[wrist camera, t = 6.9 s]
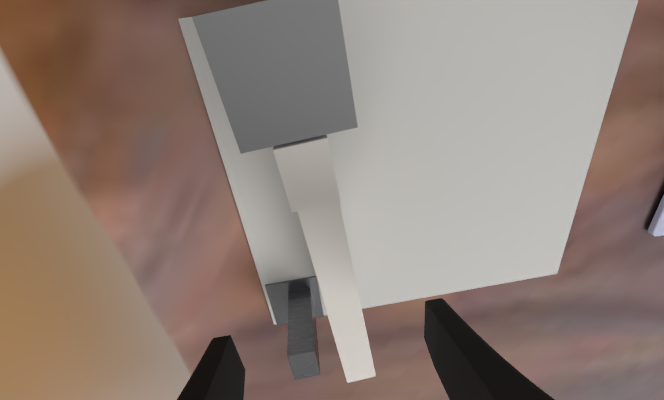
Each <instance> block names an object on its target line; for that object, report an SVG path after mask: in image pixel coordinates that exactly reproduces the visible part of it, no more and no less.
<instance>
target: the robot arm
mask: <svg viewBox="0 0 664 400" xmlns="http://www.w3.org/2000/svg"><path fill="white" fill-rule="evenodd" d="M648 232H649V233H650V234H652V235H653V236H662V235H664V195H663V197H662V199H661V201H660V204H659V206H658V208H657V210H656V213H655V215H654V217H653V219H652V222H651V224H650V226H649V228H648ZM424 338H425V341H426V344H427V347H428V350H429V353H430V356H431V359H432V361H433V364H434V367H435V369H436V371H437V373H438V375H439V378H440V380H441V382H442V384H443V386H444V388H445V390H446V393H447V395H448V397H449V399H450V400H554V399H553V398H552V397H550V396H549V395H548V394H546V393H545V392H544V391H543V390H541V389H540V388H539V387H537V386H536V385H535V384H534V383H532V382H531V381H530V380H529V379H527V378H526V377H525V376H524V375H522V374H521V373H520V372H519V371H518V370H517V369H515V368H514V367H513V366H512V365H511V364H510V363H508V362H507V361H506V360H505V359H504V358H503V357H501V356H500V355H499V354H498V353H497V352H496V351H495V350H494V349H493V348H492V347H491V346H489V345H488V344H487V343H486V342H485V341H484V340H483V339H482V338H481V337H480V336H479V335H478V334H477V333H476V332H475V331H474V330H473V329H472V328H471V327H470V326H469V325H468V324H467V323H466V322H465V321H464V320H463V319H462V318H461V317H460V316H459V315H458V314H457V313H456V312H455V311H454V310H453V309H452V308H451V307H450V306H449V305H448V304H447V303H446V302H445V300H443V299H442V298H440V299H434V300H429V301H425V330H424ZM244 381H245V368H244V366H243V364H242V361H241V359H240V357H239V354H238V352H237V350H236V347H235V345H234V343H233V340H232V338H231V335H229V336H223V337H217V338H213V340H212V341H211V342H210V344H209V346H208V348H207V350H206V351H205V353H204V355H203V357H202V358H201V360H200V362H199V364H198V365H197V367H196V369H195V371H194V372H193V374H192V376H191V377H190V379H189V381H188V382H187V384H186V386H185V387H184V389H183V391H182V392H181V394H180V396H179V397H178V399H177V400H243V397H244Z"/></svg>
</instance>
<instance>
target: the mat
mask: <svg viewBox="0 0 664 400" xmlns="http://www.w3.org/2000/svg"><path fill="white" fill-rule="evenodd" d="M338 2H339V9H340V15H341V22H342V28H343V35H344V41H345V48H346V54H347V60H348V67H349V73H350V80H351V86H352V93H353V99H354V106H355V112H356V118H357V125H358V128H353V129H349V130H344V131H340V132H335V133H331V134H326V135H327V138H328V142H329V147H330V152H331V157H332V162H333V167H334V171H335V176H336V181H337V186H338V191H339V196H340V200H341V202H339V203H340V208H341V213H342V218H343V222H344V227H345V232H346V237H347V241H348V246H349V251H350V256H351V260H352V265H353V270H354V275H355V279H356V284H357V289H358V294H359V298H360V303H361V308H362V309H363V308H369V307H374V306H380V305H386V304H391V303H397V302H402V301H408V300H413V299H419V298H424V297H430V296H436V295H441V294H447V293H452V292H458V291H463V290H469V289H475V288H480V287H486V286H491V285H497V284H502V283H508V282H513V281H519V280H525V279H530V278H536V277H541V276H547V275H552V274H557V272H558V269H559V265H560V262H561V259H562V255H563V252H564V248H565V245H566V242H567V238H568V235H569V232H570V228H571V225H572V222H573V218H574V215H575V211H576V208H577V205H578V201H579V198H580V195H581V191H582V188H583V185H584V181H585V178H586V174H587V171H588V168H589V164H590V161H591V158H592V154H593V151H594V147H595V144H596V141H597V137H598V134H599V131H600V127H601V124H602V121H603V117H604V114H605V110H606V107H607V104H608V100H609V97H610V94H611V90H612V87H613V84H614V80H615V77H616V73H617V70H618V67H619V63H620V60H621V57H622V53H623V50H624V46H625V43H626V40H627V36H628V33H629V30H630V26H631V23H632V20H633V16H634V13H635V9H636V6H637V3H638V0H338ZM178 20H179V24H180V27H181V30H182V33H183V36H184V39H185V43H186V46H187V49H188V52H189V55H190V59H191V62H192V65H193V68H194V71H195V74H196V78H197V81H198V84H199V87H200V90H201V93H202V97H203V100H204V103H205V106H206V109H207V113H208V116H209V119H210V122H211V125H212V128H213V132H214V135H215V138H216V141H217V144H218V148H219V151H220V154H221V157H222V160H223V163H224V167H225V170H226V173H227V176H228V179H229V182H230V186H231V189H232V192H233V195H234V198H235V202H236V205H237V208H238V211H239V214H240V217H241V221H242V224H243V227H244V230H245V233H246V237H247V240H248V243H249V246H250V249H251V252H252V256H253V259H254V262H255V265H256V268H257V271H258V275H259V278H260V281H261V284H262V287H263V291H264V294H265V297H266V300H267V303H268V306H269V310H270V313H271V316H272V319H273V322H274V324H277V323H276V320H275V317H274V314H273V310H272V307H271V304H270V301H269V297H268V294H267V291H266V288H265V285H266V284H272V283H278V282H284V281H289V280H295V279H301V278H307V277H312V276H316V273H315V270H314V266H313V263H312V259H311V256H310V252H309V249H308V246H307V242H306V239H305V235H304V232H303V228H302V225H301V222H300V218H299V215H298V211H297V212H293V213H292V212H291V208H290V205H289V202H288V198H287V195H286V192H285V188H284V185H283V182H282V178H281V175H280V172H279V168H278V165H277V162H276V159H275V155H274V152H273V147H274V146H273V147H269V148H264V149H260V150H255V151H251V152H246V153H242V154H241V153H240V150H239V147H238V145H237V142H236V139H235V136H234V133H233V131H232V128H231V125H230V122H229V119H228V117H227V114H226V111H225V108H224V106H223V103H222V100H221V97H220V94H219V92H218V89H217V86H216V83H215V80H214V78H213V75H212V72H211V69H210V66H209V64H208V61H207V58H206V55H205V52H204V50H203V47H202V44H201V41H200V38H199V36H198V33H197V30H196V27H195V24H194V22H193V19H192V17H186V18H179V19H178ZM316 279H317V277H316ZM317 284H318V289H319V294H320V299H321V304H322V309H323V314H324V315H328V314H327V311H326V308H325V304H324V301H323V297H322V294H321V290H320V287H319V283H318V280H317Z"/></svg>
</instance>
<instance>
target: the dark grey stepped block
mask: <svg viewBox="0 0 664 400" xmlns="http://www.w3.org/2000/svg"><path fill="white" fill-rule="evenodd" d="M265 288H266V291H267V294H268V297H269V301H270V304H271V307H272V310H273V314H274V317H275V320H276V323H277V325H281V324H287V323H288V343H287V357H288V360H289V364H290V367H291V370H292V373H293V377H294V380H296V379H301V378H307V377H312V376H317V375H320V365H319V353H318V341H317V329H316V318H320V317H324V314H323V309H322V304H321V299H320V294H319V289H318V284H317V279H316V276H312V277H307V278H301V279H295V280H289V281H284V282H278V283H272V284H266V285H265Z"/></svg>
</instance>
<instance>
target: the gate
mask: <svg viewBox="0 0 664 400" xmlns="http://www.w3.org/2000/svg"><path fill="white" fill-rule="evenodd" d="M192 19H193V22H194V24H195V27H196V30H197V33H198V36H199V38H200V41H201V44H202V47H203V50H204V52H205V55H206V58H207V61H208V64H209V66H210V69H211V72H212V75H213V78H214V80H215V83H216V86H217V89H218V92H219V94H220V97H221V100H222V103H223V106H224V108H225V111H226V114H227V117H228V119H229V122H230V125H231V128H232V131H233V133H234V136H235V139H236V142H237V145H238V147H239V150H240V153H241V154H242V153H246V152H251V151H255V150H260V149H264V148H269V147H273V146H274V147H273V152H274V155H275V159H276V162H277V165H278V168H279V172H280V175H281V178H282V182H283V185H284V188H285V192H286V195H287V198H288V202H289V205H290V208H291V212H292V213H293V212H297V211H298V215H299V218H300V222H301V225H302V228H303V232H304V235H305V239H306V242H307V246H308V249H309V252H310V256H311V259H312V263H313V266H314V270H315V273H316V277H317V280H318V283H319V287H320V290H321V294H322V297H323V301H324V304H325V308H326V311H327V314H328V318H329V321H330V325H331V328H332V332H333V335H334V338H335V342H336V345H337V349H338V352H339V356H340V359H341V363H342V366H343V369H344V373H345V376H346V380H347V383H349V382H353V381H358V380H362V379H366V378H371V377H375V376H376V375H375V370H374V365H373V360H372V356H371V351H370V346H369V341H368V337H367V332H366V327H365V322H364V318H363V313H362V308H361V303H360V298H359V294H358V289H357V284H356V279H355V275H354V270H353V265H352V260H351V256H350V251H349V246H348V241H347V237H346V232H345V227H344V222H343V218H342V213H341V208H340V203H339V202H341V200H340V196H339V191H338V186H337V181H336V176H335V171H334V167H333V162H332V157H331V152H330V147H329V142H328V138H327V135H326V134H331V133H335V132H340V131H344V130H349V129H353V128H358V125H357V118H356V112H355V106H354V99H353V93H352V86H351V80H350V73H349V67H348V60H347V54H346V48H345V41H344V35H343V28H342V22H341V15H340V9H339V2H338V0H265V1H261V2H256V3H252V4H247V5H243V6H238V7H234V8H229V9H225V10H220V11H215V12H211V13H206V14H202V15H197V16H193V17H192Z"/></svg>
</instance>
